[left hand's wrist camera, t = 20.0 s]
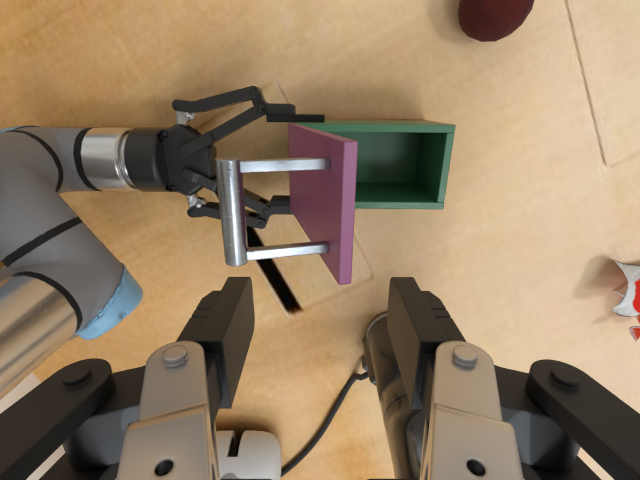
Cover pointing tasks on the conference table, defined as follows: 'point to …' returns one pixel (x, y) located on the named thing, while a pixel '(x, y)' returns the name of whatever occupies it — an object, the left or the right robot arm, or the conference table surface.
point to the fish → (630, 296)
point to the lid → (298, 199)
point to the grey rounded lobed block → (249, 455)
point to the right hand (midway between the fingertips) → (323, 161)
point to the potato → (492, 17)
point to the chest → (397, 160)
